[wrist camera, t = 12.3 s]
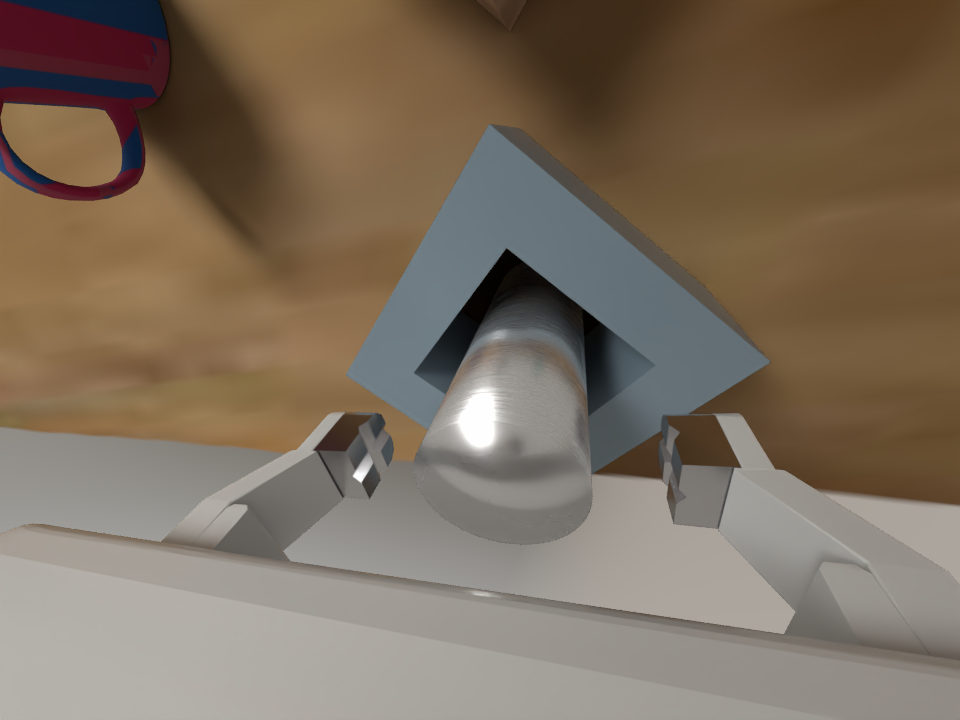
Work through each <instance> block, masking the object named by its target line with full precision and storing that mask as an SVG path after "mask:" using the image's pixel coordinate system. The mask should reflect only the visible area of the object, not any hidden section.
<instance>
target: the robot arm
mask: <svg viewBox="0 0 960 720" xmlns="http://www.w3.org/2000/svg"><path fill="white" fill-rule="evenodd" d="M385 424H386V423H385V421H384V419H383V417H382V415H380V414H378V413H360V412H348V413H347V412H333V413H331V414H328V416H327V417H326V418H325V419H324V420H323V421H322V422H321V423H320V425H319V426H318V427H317V428H316V429H315V430H314V431H313V432H312V434H311V435H310V436H309V437H308V438H307V439H306V440H305V441H304V442H303V444H302V445H301V446H300V447H299V448H298V449H297V450H292V451H290V452H288V453H286V454H284V455H283V456H281V457H279V458H277V459H276V460H274V461H272V462H270V463H268V464H267V465H265V466H263V467H261V468H260V469H258V470H256V471H254V472H252V473H251V474H249V475H247V476H245V477H243V478H242V479H240V480H238V481H236V482H234V483H233V484H231V485H229V486H227V487H225V488H224V489H222V490H220V491H218V492H216V493H215V494H213V495H211V496H209V497H207V498H206V499H204V500H203V501H202V502H201V503H200V504H199V505H198V506H197V507H196V508H195V509H194V510H193V511H192V512H191V513H190V514H189V515H188V516H187V517H186V518H185V519H184V520H183V521H182V522H181V523H180V524H179V525H178V526H177V527H176V528H174V530H173V531H171V532H170V533H169V534H168V535H167V536H166V537H165V538H164V539H163V540H162V541H161V542H157V541H151V540H143V539H137V538H131V537H124V536H117V535H110V534H104V533H97V532H90V531H83V530H76V529H70V528H63V527H57V526H51V525H45V524H28V525H23V526H20V527H17V528H14V529H11V530H8V531H6V532H3V533H1V534H0V720H960V585H959V583H958V582H957V581H956V580H955V579H954V578H953V576H952V575H951V574H950V573H949V572H948V571H946V570H945V569H943V568H941V567H940V566H938V565H937V564H935V563H933V562H932V561H930V560H928V559H927V558H925V557H924V556H922V555H921V554H919V553H917V552H916V551H914V550H912V549H911V548H909V547H907V546H906V545H904V544H903V543H901V542H899V541H898V540H896V539H895V538H893V537H891V536H890V535H888V534H887V533H885V532H883V531H882V530H880V529H879V528H877V527H875V526H874V525H872V524H870V523H869V522H867V521H866V520H864V519H862V518H861V517H859V516H858V515H856V514H854V513H852V512H851V511H849V510H848V509H846V508H845V507H843V506H841V505H840V504H838V503H836V502H835V501H833V500H832V499H830V498H829V497H827V496H825V495H824V494H822V493H820V492H819V491H817V490H816V489H814V488H812V487H811V486H809V485H808V484H806V483H804V482H803V481H801V480H799V479H798V478H796V477H795V476H793V475H791V474H790V473H788V472H787V471H785V470H776V469H775V468H774V466H773V465H772V463H771V461H770V460H769V458H768V456H767V455H766V453H765V452H764V450H763V448H762V447H761V445H760V443H759V442H758V440H757V439H756V437H755V435H754V434H753V432H752V430H751V429H750V427H749V426H748V424H747V422H746V421H745V419H744V417H743V416H742V415H740V414H739V413H722V414H663V416H662V419H661V431H662V434H663V439H662V440H661V441H659V452H658V453H659V467H660V473H661V477H662V481H663V482H664V483H665V484H666V485H667V486H668V492H667V501H668V504H669V508H670V512H671V516H672V519H673V523H674V524H678V525H688V526H697V527H707V528H716V529H719V530H718V531H719V532H720V533H721V534H722V535H723V536H724V537H725V538H726V539H727V540H728V541H729V542H730V543H731V544H732V545H733V546H734V547H735V549H736V550H737V551H738V552H739V553H740V554H741V555H742V556H743V557H744V558H745V559H746V560H747V561H748V562H749V563H750V564H751V565H752V566H753V567H754V568H755V570H756V571H758V573H759V574H760V575H761V576H762V577H763V578H764V579H765V580H766V581H767V582H768V583H769V584H770V585H771V586H772V587H773V588H774V589H775V590H776V591H777V592H778V593H779V595H780V596H781V597H782V598H783V599H784V600H785V601H786V602H787V603H788V604H789V605H790V606H791V607H792V608H793V609H794V610H795V611H796V613H795V615H794V616H793V618H792V620H791V622H790V624H789V626H788V628H787V630H786V631H785V633H784V634H778V633H771V632H764V631H758V630H751V629H744V628H737V627H731V626H724V625H717V624H710V623H704V622H696V621H690V620H683V619H677V618H670V617H663V616H656V615H650V614H643V613H636V612H629V611H623V610H616V609H609V608H602V607H596V606H589V605H582V604H575V603H569V602H562V601H555V600H548V599H542V598H535V597H527V596H521V595H515V594H508V593H501V592H494V591H487V590H481V589H474V588H467V587H460V586H454V585H447V584H440V583H433V582H427V581H419V580H413V579H406V578H399V577H393V576H386V575H379V574H372V573H365V572H359V571H352V570H345V569H338V568H331V567H325V566H318V565H311V564H304V563H298V562H291V561H290V560H289V559H288V558H287V556H286V555H285V554H284V552H283V551H284V550H285V549H286V548H287V547H288V546H289V545H290V544H292V543H293V542H294V541H295V540H296V539H297V538H299V537H300V536H301V535H302V534H303V533H305V532H306V531H307V530H308V529H309V528H310V527H312V526H313V525H314V524H315V523H316V522H317V521H319V520H320V519H321V518H322V517H323V516H324V515H326V514H327V513H328V512H329V511H330V510H331V509H333V508H334V507H335V506H336V505H337V504H338V503H340V502H341V501H342V500H343V498H358V499H370V497H371V496H372V494H373V492H374V490H375V489H376V487H377V485H378V483H379V482H380V474H379V473H380V472H382V471H383V470H384V469H386V468H387V467H388V466H389V464H390V462H391V460H392V456H393V450H394V448H393V441H392V438H391V436H390V435H389V434H388V433H387V432H386V431H385V430H384V427H385Z"/></svg>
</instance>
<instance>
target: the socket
mask: <svg viewBox="0 0 960 720" xmlns="http://www.w3.org/2000/svg"><path fill="white" fill-rule="evenodd" d="M506 248H507V249H508V250H510V251H511V252H512V253H514V254H515V255H516V256H517V257H519V258H520V259H521V260H522V261H524V262H525V263H526V264H528V265H529V266H530V267H531V268H533V269H534V270H535V271H536V272H538V273H539V274H540V275H542V276H543V277H544V278H545V279H547V280H548V281H549V282H550V283H552V284H553V285H554V286H555V287H557V288H558V289H559V290H561V291H562V292H563V293H564V294H566V295H567V296H568V297H569V298H571V299H572V300H573V301H575V302H576V303H577V304H578V305H580V306H581V307H582V308H583V309H585V310H586V311H587V312H589V313H590V314H591V315H592V316H594V317H595V318H596V319H597V320H599V321H600V323H599V324H598V325H597V326H595V327H594V328H593V329H592V330H591V331H590V332H589V333H588V334H587V335H586V336H585V337H584V346H585V365H586V384H587V403H588V422H589V441H590V460H591V474H593V473H595V472H596V471H598V470H599V469H601V468H603V467H604V466H606V465H607V464H609V463H611V462H612V461H614V460H615V459H617V458H619V457H620V456H622V455H623V454H625V453H626V452H628V451H630V450H631V449H633V448H634V447H636V446H638V445H639V444H641V443H642V442H644V441H646V440H647V439H649V438H650V437H652V436H654V435H655V434H657V433H658V432H660V431H661V419H662V416H663V414H689V413H690V412H692V411H694V410H695V409H697V408H698V407H700V406H702V405H703V404H705V403H706V402H708V401H710V400H711V399H713V398H714V397H716V396H717V395H719V394H721V393H722V392H724V391H725V390H727V389H729V388H730V387H732V386H733V385H735V384H737V383H738V382H740V381H741V380H743V379H745V378H746V377H748V376H749V375H751V374H753V373H754V372H756V371H757V370H759V369H761V368H762V367H764V366H765V365H767V364H769V363H770V361H769V359H768V358H767V357H766V356H765V355H764V354H763V353H762V351H761V350H760V349H759V348H758V347H757V346H756V345H755V343H754V342H753V341H752V340H751V339H750V338H749V336H748V335H747V334H746V333H745V332H744V331H743V330H742V328H741V327H740V326H739V325H738V324H737V323H736V322H735V320H734V319H733V318H732V317H731V316H730V315H729V314H728V312H727V311H726V310H725V309H724V308H723V307H722V306H721V304H720V303H719V302H718V301H717V300H716V299H715V298H714V296H713V295H712V294H711V293H710V292H709V291H708V289H707V288H706V287H705V286H703V285H702V284H701V283H700V282H699V281H698V280H696V279H695V278H694V277H693V276H692V275H691V274H689V273H688V272H687V271H686V270H685V269H684V268H682V267H681V266H680V265H679V264H678V263H677V262H675V261H674V260H673V259H672V258H671V257H670V256H668V255H667V254H666V253H665V252H664V251H663V250H661V249H660V248H659V247H658V246H657V245H656V244H654V243H653V242H652V241H651V240H650V239H649V238H647V237H646V236H645V235H644V234H643V233H642V232H640V231H639V230H638V229H637V228H636V227H635V226H633V225H632V224H631V223H630V222H629V221H628V220H626V219H625V218H624V217H623V216H622V215H621V214H619V213H618V212H617V211H616V210H615V209H614V208H612V207H611V206H610V205H609V204H608V203H607V202H605V201H604V200H603V199H602V198H601V197H600V196H598V195H597V194H596V193H595V192H594V191H593V190H591V189H590V188H589V187H588V186H587V185H586V184H584V183H583V182H582V181H581V180H580V179H579V178H577V177H576V176H575V175H574V174H573V173H572V172H570V171H569V170H568V169H567V168H566V167H565V166H563V165H562V164H561V163H560V162H559V161H558V160H556V159H555V158H554V157H553V156H552V155H551V154H549V153H548V152H547V151H546V150H545V149H544V148H542V147H541V146H540V145H539V144H538V143H537V142H535V141H534V140H533V139H532V138H531V137H530V136H528V135H527V134H526V133H525V132H524V131H523V130H521V129H520V128H513V127H507V126H500V125H493V124H489V125H488V127H487V129H486V131H485V132H484V134H483V136H482V138H481V139H480V141H479V143H478V145H477V146H476V148H475V150H474V152H473V153H472V155H471V157H470V159H469V160H468V162H467V164H466V166H465V167H464V169H463V171H462V173H461V174H460V176H459V178H458V180H457V181H456V183H455V185H454V187H453V188H452V190H451V192H450V194H449V195H448V197H447V199H446V201H445V202H444V204H443V206H442V208H441V209H440V211H439V213H438V215H437V216H436V218H435V220H434V222H433V223H432V225H431V227H430V229H429V230H428V232H427V234H426V236H425V237H424V239H423V241H422V243H421V244H420V246H419V248H418V249H417V251H416V253H415V255H414V256H413V258H412V260H411V262H410V263H409V265H408V267H407V269H406V270H405V272H404V274H403V276H402V277H401V279H400V281H399V283H398V284H397V286H396V288H395V290H394V291H393V293H392V295H391V297H390V298H389V300H388V302H387V304H386V305H385V307H384V309H383V311H382V312H381V314H380V316H379V318H378V319H377V321H376V323H375V325H374V326H373V328H372V330H371V332H370V333H369V335H368V337H367V339H366V340H365V342H364V344H363V346H362V347H361V349H360V351H359V353H358V354H357V356H356V358H355V360H354V361H353V363H352V365H351V367H350V368H349V370H348V372H347V374H346V376H348V377H349V378H351V379H352V380H354V381H355V382H357V383H358V384H360V385H361V386H363V387H364V388H366V389H367V390H369V391H370V392H372V393H373V394H375V395H376V396H378V397H379V398H381V399H382V400H384V401H385V402H387V403H388V404H390V405H391V406H393V407H394V408H396V409H397V410H399V411H400V412H402V413H404V414H405V415H407V416H408V417H410V418H411V419H413V420H414V421H416V422H417V423H419V424H420V425H422V426H423V427H425V428H426V429H429V427H430V425H431V423H432V421H433V419H434V417H435V415H436V413H437V411H438V409H439V407H440V405H441V403H442V401H443V399H444V397H445V395H446V393H447V391H448V389H449V387H450V385H451V383H452V381H453V379H454V377H455V375H456V373H457V371H458V369H459V367H460V365H461V363H462V361H463V359H464V357H465V355H466V353H467V351H468V349H469V347H470V345H471V342H472V340H473V338H474V336H475V334H476V332H477V330H478V328H479V326H480V325H479V324H478V323H477V322H475V321H474V320H473V319H471V318H470V317H469V316H467V315H466V314H464V313H463V312H462V311H460V310H461V309H462V307H463V306H464V305H465V303H466V302H467V301H468V299H469V298H470V297H471V295H472V294H473V292H474V291H475V290H476V288H477V287H478V286H479V284H480V283H481V282H482V280H483V279H484V278H485V276H486V275H487V274H488V272H489V271H490V270H491V268H492V267H493V265H494V264H495V263H496V261H497V260H498V259H499V257H500V256H501V255H502V253H503V252H504V251H505V249H506Z"/></svg>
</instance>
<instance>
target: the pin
mask: <svg viewBox="0 0 960 720" xmlns="http://www.w3.org/2000/svg"><path fill="white" fill-rule="evenodd" d="M413 470H414V478H415V481H416V484H417V486H418V489H419V491H420V493H421V494H422V496H423V497H424V499H425V500H426V501H427V503H428V504H429V505H430V506H431V507H432V508H433V509H434V510H435V511H436V512H437V513H438V514H439V515H441V516H442V517H443V518H444V519H446V520H447V521H449V522H450V523H452V524H453V525H455V526H457V527H458V528H460V529H462V530H465V531H466V532H469V533H471V534H473V535H476V536H479V537H482V538H485V539H488V540H492V541H497V542H501V543H509V544H520V545H521V544H539V543H545V542H550V541H553V540H557V539H559V538H562V537H564V536H566V535H568V534H570V533H571V532H573V531H574V530H576V529H577V528H578V527H579V526H580V525H581V524H582V523H583V522H584V521H585V519H586V518H587V516H588V514H589V512H590V509H591V505H592V479H591V460H590V441H589V422H588V403H587V384H586V365H585V346H584V327H583V308H582V307H581V306H580V305H578V304H577V303H576V302H575V301H573V300H572V299H571V298H569V297H568V296H567V295H566V294H564V293H563V292H562V291H561V290H559V289H558V288H557V287H555V286H554V285H553V284H552V283H550V282H549V281H548V280H547V279H545V278H544V277H543V276H542V275H540V274H539V273H538V272H536V271H535V270H534V269H533V268H531V267H530V266H529V265H528V264H526V263H525V262H523V263H521V264H519V265H517V266H516V267H514V268H513V269H512V270H510V271H509V272H508V273H507V274H506V276H505V277H504V279H503V280H502V282H501V284H500V286H499V288H498V290H497V292H496V294H495V296H494V298H493V300H492V302H491V304H490V306H489V308H488V310H487V312H486V314H485V316H484V318H483V320H482V322H481V324H480V326H479V328H478V330H477V332H476V334H475V336H474V338H473V340H472V342H471V345H470V347H469V349H468V351H467V353H466V355H465V357H464V359H463V361H462V363H461V365H460V367H459V369H458V371H457V373H456V375H455V377H454V379H453V381H452V383H451V385H450V387H449V389H448V391H447V393H446V395H445V397H444V399H443V401H442V403H441V405H440V407H439V409H438V411H437V413H436V415H435V417H434V419H433V421H432V423H431V425H430V427H429V429H428V431H427V433H426V435H425V437H424V439H423V441H422V443H421V445H420V447H419V449H418V451H417V453H416V456H415V460H414V469H413Z"/></svg>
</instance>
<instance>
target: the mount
mask: <svg viewBox="0 0 960 720" xmlns="http://www.w3.org/2000/svg"><path fill="white" fill-rule="evenodd" d="M476 1H477V2H478V3H479V4H481V5H482V6H483V7H484V8H485V9H486V10H487V11H488V12H489V13H491V14H492V15H493V16H494V17H495V18H496V19H497V20H498V21H499V22H500V23H502V24H503V25H504V26H505V27H506V28H507V29H508V30H509V31H511V29H512V27H513V26H514V24H515V22H516V20H517V18H518V16H519V14H520V12H521V10H522V9H523V7H524V5H525V3H526V1H527V0H476Z"/></svg>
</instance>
